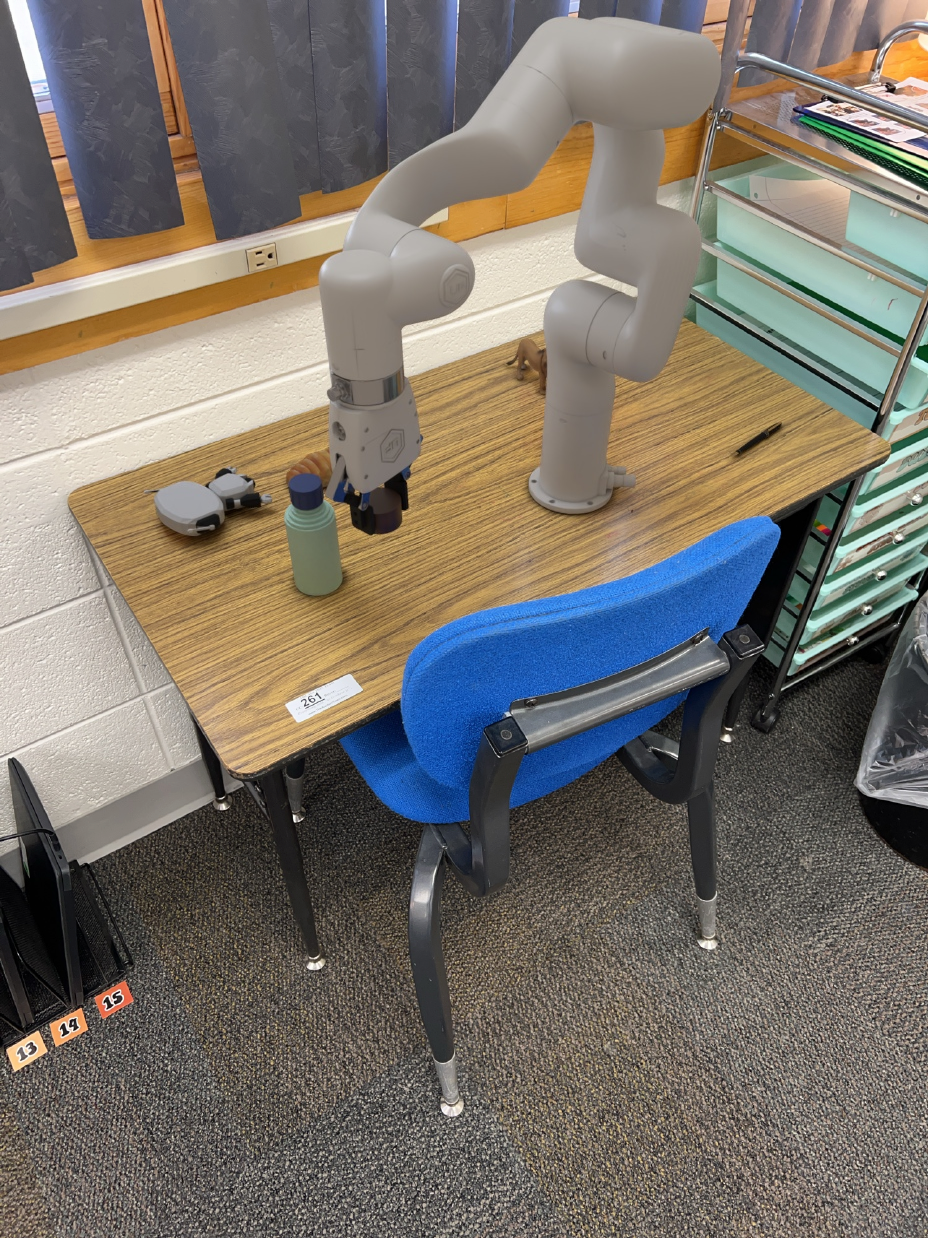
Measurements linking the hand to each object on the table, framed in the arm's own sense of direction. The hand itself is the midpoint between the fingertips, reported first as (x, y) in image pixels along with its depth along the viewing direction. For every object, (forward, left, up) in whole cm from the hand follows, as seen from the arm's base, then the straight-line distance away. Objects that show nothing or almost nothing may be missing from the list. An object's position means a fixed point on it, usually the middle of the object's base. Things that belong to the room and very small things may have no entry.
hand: (380, 516), depth 106 cm
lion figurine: (-19, -61, -17) cm, 66 cm away
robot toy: (+28, -20, -17) cm, 38 cm away
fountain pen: (-54, -45, -17) cm, 72 cm away
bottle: (+10, -7, -17) cm, 21 cm away
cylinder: (0, 0, -1) cm, 1 cm away
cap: (+10, -7, -1) cm, 12 cm away
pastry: (+14, -30, -17) cm, 37 cm away
